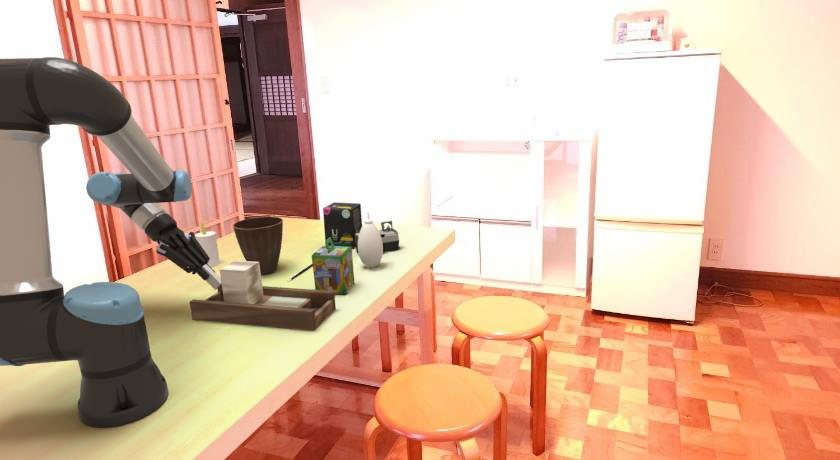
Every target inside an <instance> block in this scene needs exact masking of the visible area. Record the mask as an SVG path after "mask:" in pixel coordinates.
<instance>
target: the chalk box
mask: <svg viewBox="0 0 840 460" xmlns="http://www.w3.org/2000/svg"><path fill="white" fill-rule="evenodd" d="M329 242H330V243H331V246H328V243H329ZM324 244H325V245H323V246H321V247H320V248H319V249H317V250H315V252H313V253H312V254H311V262H312V263H311V264H313V267H312V271H313V272H312V273H313V279H314V290H326V291H334V294H335V295H347V293H348V292H350V291H349V290H351V288H353V286H354V285H355V283H356V282H355V274H354V261H353V259H354V258H353V249H352V247H342V246H334V244H333V242H332V239H331V237H329V238H328V239H327V240H326V241H325V240H324Z"/></svg>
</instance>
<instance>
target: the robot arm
mask: <svg viewBox="0 0 840 460" xmlns="http://www.w3.org/2000/svg"><path fill="white" fill-rule="evenodd" d="M132 114H133V113H132V106H131V104H130V103H129V101H128V99H127V98H126V97H125V96H124V94H123V93H122V92H121V91H120V90H119V88H117V87H116V86H115V85H114V84H113V83H111V82H110V81H109V80H108V79H106V78H105V77H104V76H102V75H101V74H99V73H98V72H96V71H94V70H93V69H91V68H89V67H87V66H84V65H83V64H81V63H78V62H75V61H73V60H70V59H66V58H63V57H62V58H61V57H57V56H47V57H46V56H45V57H33V58H32V57H31V58H30V57H29V58H28V57H27V58H26V57H25V58H23V57H22V58H0V367H1V366H2V367H4V366H5V367H7V366H14V367H23V366H25V365H34V364H35V365H36V364H37V365H38V364H47V363H57V362H66V361H67V362H69V361H77V362H78V363H77V364H78V366H79V370H80V371H79V372H80V373H81V379H80V380H81V381H80V390H79V397H78V400H77V405H76V406H77V408H76V409H77V412H78V413H77V414H78V418H79V420H80V422H82V424H84V425H86V426H89V427H92V428H110V427H118V426H122V425H125V424H129V423H132V422H134V421H137V420H139V419H142V418H144V417H146V416H147V415H148V416H149V415H150V414H152V413H153V412H155V411H156V410H157V409H159V408H160V407H161V406H162V405H163V404H164V403H165V402H166V400H167V398H168V396H169V388H168V387H169V386H168V383H167V380H166V378H165V377H164V375H163V374H162V372H161V371H160V368H159V367H158V365H157V364H156V362H155V361H154V359H153V357H152V353H151V346H150V342H149V336H148V331H147V330H148V329H147V324H146V319H145V309H144V307H143V304H142V302H141V298H140V294H139V292H138V291H137V289H135V288H133V287H132V286H130V285H129V284H126V283H123V282H117V281H116V282H115V281H100V282H99V281H97V282H92V283H90V284H87V283H84V284H80V285H77V286H75V287H72V288H70V289H69V290H68V291H66V293H65V292H64V291H65V290H64V285H63V283H61V282H60V281H58V280H57V279H55V277H54V275H53V265H52V255H51V243H50V242H51V241H50V231H49V220H48V219H49V218H48V207H47V197H46V187H45V184H46V183H45V173H44V163H43V162H44V161H43V152H42V149H43V148H42V147H43V145H44V144H45V143H47V142H48V141H49V140H50V139H51V129H50V127H51V126H59V125H74V126H78V127H80V128H82V129H83V131H84V132H86V133H88V134H89V135H91V136H96V137H97V138H98V139H99V140H100V141H101V142H102V144H104V145H105V147H107V148H108V150H110V152H111V153H112V154H113V155H114V156H115V158H116V159H118V161H119V162H120V163H121V164H122V165H123V166H124V167H125V168H126V170H128V172H129V173H127V172H124V171H121V172H116V173H113V172H109V171H108V172H107V171H100V172H96V173H94V174H92V175H91V176H90V177H89V179H88V180H87V182H86V185H85V186H86V188H85V190H86V192H87V195H88V196H89V198H90V199H91V200H92V201H94V202H95V203H99V204H100V205H102V206H110V207H113V208H117V209H120V210H121V211H122V212H123V213H124V214H125V215H126V216H127V217H129V219H130V220H131V221H132V222H133V223H134V224H135V225H137V227H139V228H140V230H142V231H144V234H145V235H146V237H148V238H149V239H150V240H151V241H152V242H155V243H157V245H158V248H157V249H156V251H155V252H156V253H157V254H158V255H161V256H163V257H164V258H166V259H168V260H169V261H170V262H171V263H173V264H175V265H176V266H177V267H179V268H180V269H181V270H183V271H185V272H186V273H187V274H192V276H193V275H195V274H197V275H198V276H199V277H200V278H201V279H202V280H203V281H206V282H207V283H208V285H210V286H211V288H213V289H214V291H216V290H218V288H219V287H220V286H221V284H222V283H221V276H220V275H218V274H217V273H216V271H215V270H214V268H213V267H210V266H209V265H208V262H209V260H210V258H209V256H208V255H207V253H206V252H205V251H204V249H203V248H202V246H201V245H200V244H199V242H198V241H197V240H196V238H195V235H196V234H195V233H194V231H189V233H187V232H186V233H185V232H184V230H182V229H181V228H179V227H178V223H177V220H175V219H174V218H173V217H172V216H171V215H170V214H169V213H167V211H166V210H165V208H163V207H162V206H161V204H162V203H176V202H186V201H188V200H189V199H190V198H191V196H192V193H193V185H192V180H191V176H190V174H189V173H188V171H185V170H178V169H176V170H173V169H172V168H171V166H170V165H169V164H168V163H167V161H166V160H165V159H164V157H163V156H162V155H161V153H160V151H159V150H158V149H157V148H156V146H155V145H154V143H153V142H152V141H151V140H150V139H149V137H148V136H147V134H146V133H145V132H144V130H143V128H141V126H140V125H139V124H138V122H137V121H136V119H135V118H134V117H133V115H132ZM159 203H161V204H159Z"/></svg>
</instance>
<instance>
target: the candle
mask: <svg viewBox="0 0 840 460" xmlns="http://www.w3.org/2000/svg"><path fill="white" fill-rule="evenodd" d="M200 230H201V232H198V233H195V234H194V235H195V238H196V240H197V241H198V242H199V244H200V245H201V246H202V248H203V249H204V251H205V252H206V253H207V255H208V256H209V258H210V260H209V262H208V265H209V266H210V267H211V268H213V267H217V266H219V265H220V263H221V261H220V256H219V255H220V254H219V248H218V241H217V233H216V232H215V231H207V230H206V226H205V224H204V222H203V221H201V222H200Z"/></svg>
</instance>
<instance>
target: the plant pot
mask: <svg viewBox="0 0 840 460" xmlns="http://www.w3.org/2000/svg"><path fill="white" fill-rule="evenodd" d="M283 223H284V219H283V218H281V217H279V216H278V217H277V216H258V217H251V218H246V219H242V220H239V221H236V222H234V223H233V225H232V228H233V230H234V234H235V237H236V240H237V244H238V245H239V249H240V252H241V253H242V256H243V258H244V261H252V262H259V264H260V272H261V276H262V275H269V274H272V273H274V272H276V271H277V270H278V266H279V261H280V256H281V249H282V243H283V231H284V230H283V228H284V227H283V226H284V224H283Z"/></svg>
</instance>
